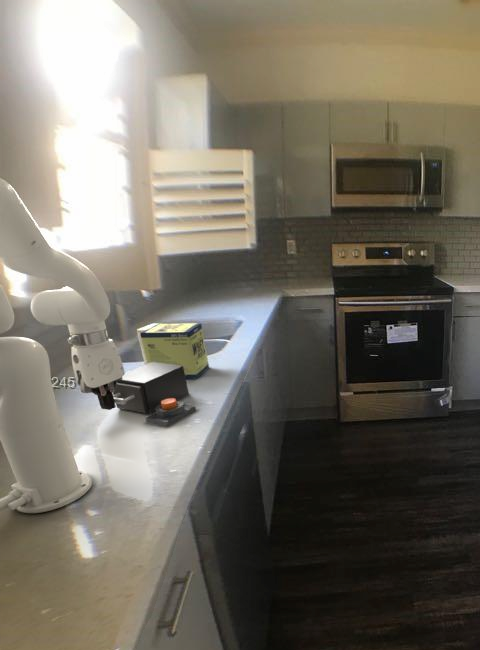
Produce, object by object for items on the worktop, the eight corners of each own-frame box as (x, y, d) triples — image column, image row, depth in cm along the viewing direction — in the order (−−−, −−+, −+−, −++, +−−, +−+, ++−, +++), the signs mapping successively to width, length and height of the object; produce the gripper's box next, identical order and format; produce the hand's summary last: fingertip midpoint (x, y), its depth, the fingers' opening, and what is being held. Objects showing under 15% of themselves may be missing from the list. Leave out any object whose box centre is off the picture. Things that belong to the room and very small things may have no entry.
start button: (169, 410, 117) (168, 404, 116) (159, 408, 118) (157, 402, 117) (180, 405, 120) (179, 399, 119) (169, 403, 121) (168, 397, 120)
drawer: (132, 420, 117) (125, 394, 114) (103, 414, 120) (95, 388, 118) (181, 395, 131) (176, 371, 128) (153, 390, 135) (148, 367, 132)
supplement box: (156, 366, 156) (148, 329, 151) (144, 366, 157) (135, 329, 152) (171, 358, 164) (164, 323, 159) (159, 358, 165) (152, 322, 160)
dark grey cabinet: (151, 414, 122) (144, 383, 118) (119, 408, 126) (111, 378, 122) (189, 395, 133) (183, 365, 130) (159, 390, 137) (152, 361, 134)
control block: (167, 427, 115) (164, 415, 113) (146, 423, 117) (143, 411, 116) (196, 410, 123) (193, 400, 122) (176, 407, 126) (173, 396, 124)
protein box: (198, 378, 145) (188, 331, 139) (149, 379, 145) (138, 332, 139) (210, 367, 155) (202, 322, 149) (164, 368, 155) (155, 323, 149)
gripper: (72, 347, 102) (92, 422, 108) (127, 331, 115) (143, 398, 121) (48, 345, 104) (70, 418, 111) (105, 329, 117) (122, 396, 124)
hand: (108, 408), depth 116 cm, fingers closed
